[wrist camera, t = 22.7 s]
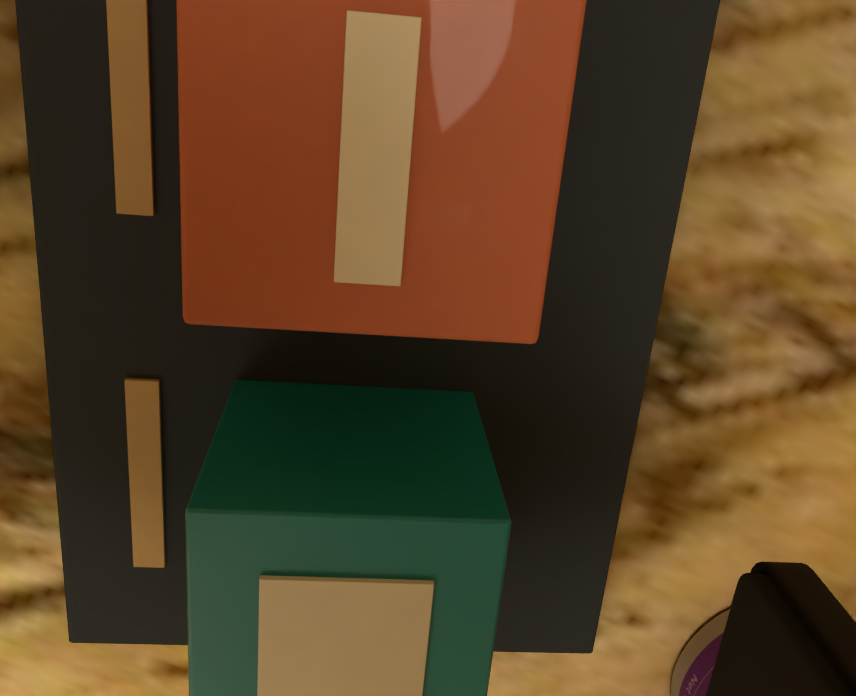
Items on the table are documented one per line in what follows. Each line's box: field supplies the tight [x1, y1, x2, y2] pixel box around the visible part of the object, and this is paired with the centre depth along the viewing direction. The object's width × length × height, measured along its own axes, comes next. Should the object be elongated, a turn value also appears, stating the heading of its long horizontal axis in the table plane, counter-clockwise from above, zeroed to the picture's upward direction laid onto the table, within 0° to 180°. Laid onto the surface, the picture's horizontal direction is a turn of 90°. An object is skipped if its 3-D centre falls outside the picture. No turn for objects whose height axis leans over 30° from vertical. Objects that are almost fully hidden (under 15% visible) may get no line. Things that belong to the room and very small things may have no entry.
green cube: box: [185, 380, 512, 696], centre depth 14 cm, size 4×4×4 cm
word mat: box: [15, 0, 720, 653], centre depth 14 cm, size 22×11×1 cm, turn 175°
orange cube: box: [177, 0, 587, 344], centre depth 11 cm, size 4×4×4 cm
